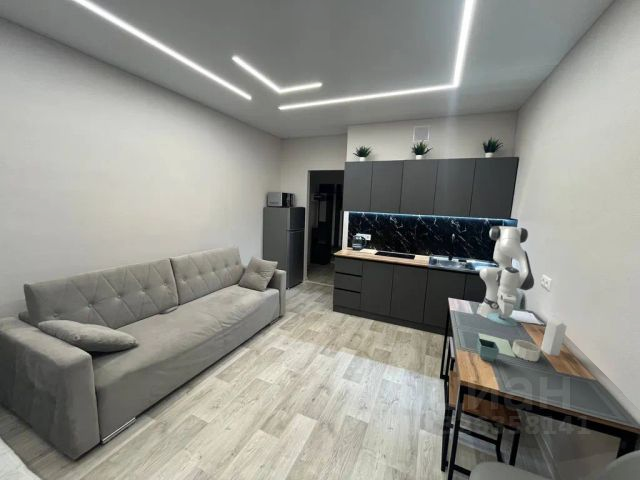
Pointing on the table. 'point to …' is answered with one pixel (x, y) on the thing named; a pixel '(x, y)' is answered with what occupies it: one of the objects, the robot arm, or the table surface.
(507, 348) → the mat
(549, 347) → the milk
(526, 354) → the bowl
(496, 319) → the lid
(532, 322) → the table surface
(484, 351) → the flower pot
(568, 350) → the table surface
